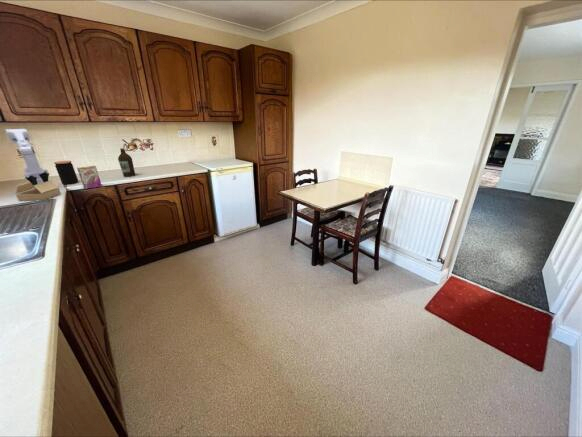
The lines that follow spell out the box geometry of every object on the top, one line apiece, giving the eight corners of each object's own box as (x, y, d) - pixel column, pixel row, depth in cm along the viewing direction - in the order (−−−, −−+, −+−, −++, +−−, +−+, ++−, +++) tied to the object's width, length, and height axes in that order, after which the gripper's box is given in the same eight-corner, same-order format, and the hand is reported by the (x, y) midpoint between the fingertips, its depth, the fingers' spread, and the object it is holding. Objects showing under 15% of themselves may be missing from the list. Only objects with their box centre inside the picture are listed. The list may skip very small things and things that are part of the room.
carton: (38, 194, 174) (35, 188, 172) (61, 194, 175) (58, 188, 173) (18, 201, 161) (15, 194, 160) (43, 200, 162) (41, 194, 160)
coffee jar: (82, 182, 207) (74, 160, 200) (68, 185, 197) (60, 163, 190) (72, 181, 210) (65, 160, 202) (59, 184, 200) (50, 162, 193)
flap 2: (50, 180, 170) (51, 180, 170) (58, 187, 172) (58, 187, 172) (33, 185, 158) (33, 185, 158) (41, 193, 160) (41, 192, 160)
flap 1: (34, 188, 172) (34, 187, 172) (36, 180, 170) (35, 180, 170) (16, 193, 160) (15, 193, 160) (17, 185, 158) (16, 185, 158)
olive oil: (126, 174, 231) (118, 147, 221) (138, 174, 232) (131, 147, 222) (120, 177, 221) (112, 149, 212) (133, 177, 223) (125, 149, 213)
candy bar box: (85, 189, 186) (77, 168, 180) (83, 188, 189) (76, 167, 183) (102, 186, 194) (95, 165, 188) (100, 185, 197) (93, 165, 191)
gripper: (28, 167, 153) (37, 188, 158) (49, 163, 166) (56, 182, 171) (17, 167, 153) (26, 188, 158) (38, 163, 166) (46, 182, 171)
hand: (41, 185), depth 165 cm, fingers open, 7 cm apart
